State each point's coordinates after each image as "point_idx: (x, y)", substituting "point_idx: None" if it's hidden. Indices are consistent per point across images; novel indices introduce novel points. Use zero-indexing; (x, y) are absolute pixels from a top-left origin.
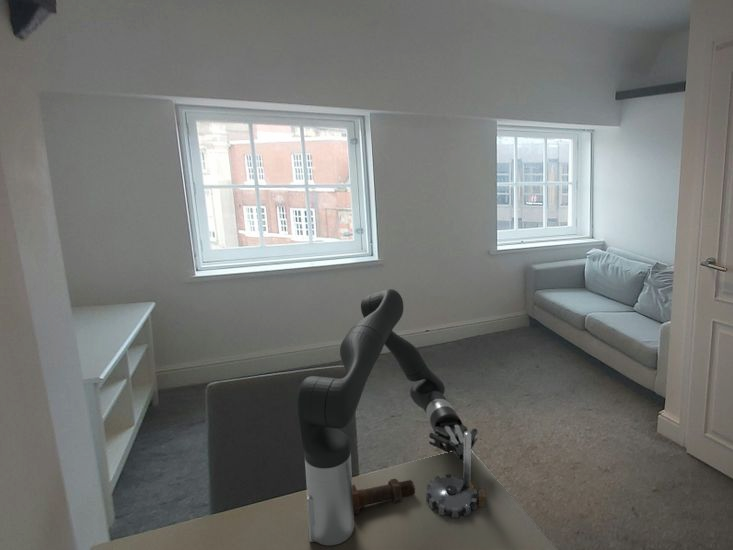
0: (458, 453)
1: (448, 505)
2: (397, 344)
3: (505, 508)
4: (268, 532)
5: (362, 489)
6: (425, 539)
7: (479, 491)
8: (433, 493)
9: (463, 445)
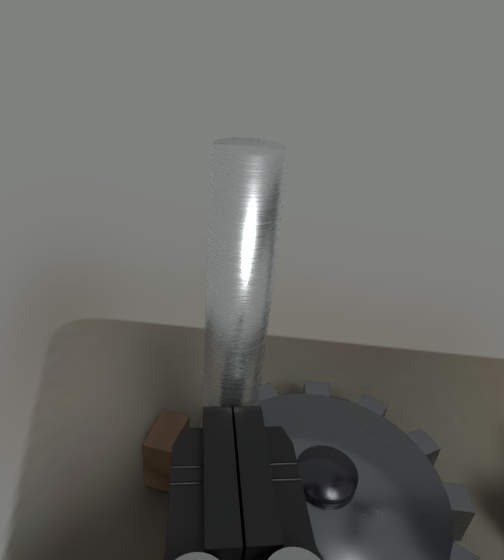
0: (290, 440)
1: (344, 405)
2: None
3: (73, 432)
4: None
5: None
6: (414, 358)
7: (173, 442)
8: (424, 479)
9: (211, 516)
